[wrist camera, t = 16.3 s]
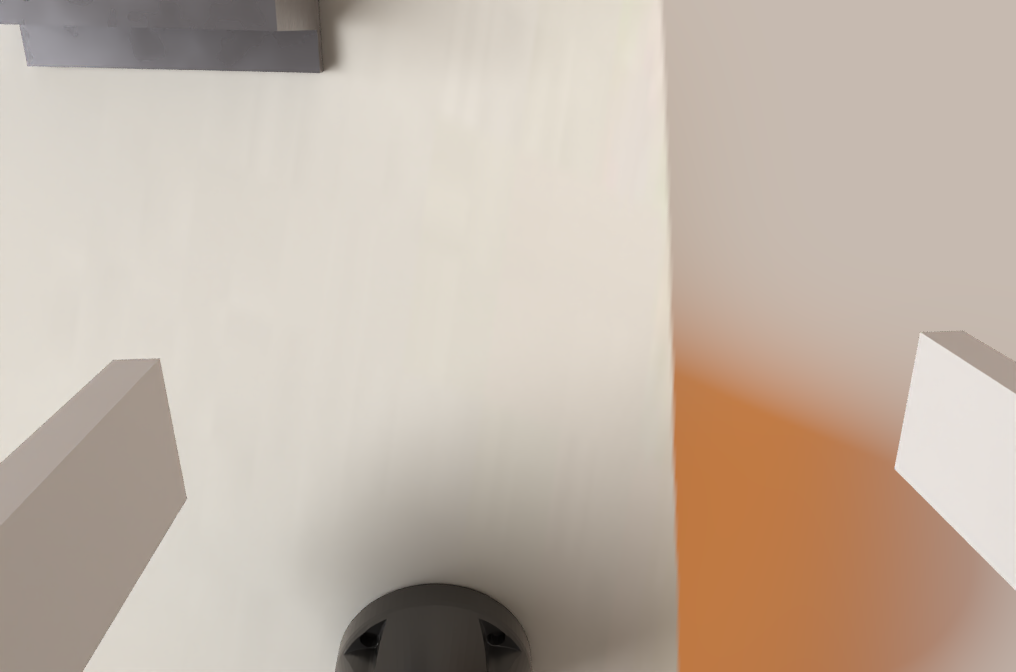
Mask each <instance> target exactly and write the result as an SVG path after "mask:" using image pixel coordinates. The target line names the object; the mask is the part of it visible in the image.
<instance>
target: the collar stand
mask: <svg viewBox="0 0 1016 672" xmlns="http://www.w3.org/2000/svg"><path fill="white" fill-rule="evenodd" d="M0 24H19V25H20V30H21V35H22V40H23V45H24V50H25V55H26V60H27V66H49V67H92V68H135V69H177V70H220V71H263V72H305V73H321V72H323V63H322V47H321V31H320V14H319V0H0Z"/></svg>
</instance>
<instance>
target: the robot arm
mask: <svg viewBox="0 0 1016 672" xmlns="http://www.w3.org/2000/svg"><path fill="white" fill-rule="evenodd" d="M895 470H896V471H897V472H898V473H899V474H900V475H901V476H902V477H903V478H904V479H905V480H906V481H907V482H908V483H909V484H910V485H912V487H913V488H914V489H915V490H916V491H917V492H918V493H919V494H920V495H921V496H922V497H923V498H924V499H925V500H926V501H927V502H928V503H929V504H930V505H931V506H932V507H933V508H934V509H935V510H936V511H937V512H938V513H939V514H940V515H941V516H942V517H943V518H944V519H945V520H946V521H947V522H948V523H949V524H950V525H951V526H952V527H953V528H954V529H955V530H956V531H957V532H958V533H959V534H960V535H961V536H962V537H963V538H964V539H965V540H966V541H967V542H968V543H969V544H970V545H971V546H972V547H973V548H974V549H975V550H976V551H977V552H978V553H979V554H980V555H981V556H982V557H983V558H984V559H985V560H986V561H987V562H988V563H989V564H990V565H991V566H992V567H993V568H994V569H995V570H996V571H997V572H998V573H999V574H1000V575H1001V576H1002V577H1003V578H1004V579H1005V580H1006V581H1007V582H1008V583H1009V584H1010V585H1011V586H1012V587H1013V588H1014V589H1015V590H1016V362H1015V361H1013V360H1012V359H1010V358H1008V357H1007V356H1005V355H1003V354H1001V353H1000V352H998V351H996V350H995V349H993V348H991V347H989V346H988V345H986V344H984V343H983V342H981V341H979V340H978V339H976V338H974V337H973V336H971V335H969V334H968V333H966V332H964V331H940V332H920V337H919V342H918V347H917V353H916V358H915V364H914V368H913V374H912V379H911V384H910V389H909V395H908V400H907V405H906V411H905V416H904V421H903V426H902V432H901V437H900V442H899V448H898V453H897V458H896V463H895ZM186 499H187V497H186V492H185V486H184V481H183V476H182V471H181V466H180V461H179V456H178V450H177V445H176V440H175V435H174V430H173V425H172V420H171V414H170V409H169V404H168V399H167V394H166V389H165V384H164V379H163V373H162V368H161V363H160V358H159V359H130V360H113V361H112V362H111V363H109V364H108V365H107V366H106V367H105V368H104V369H103V370H102V371H101V372H100V373H99V374H97V375H96V376H95V377H94V378H93V379H92V380H91V381H90V382H89V383H88V384H87V385H85V386H84V387H83V388H82V389H81V390H80V391H79V392H78V393H77V394H76V395H75V396H73V397H72V398H71V399H70V400H69V401H68V402H67V403H66V404H65V405H64V406H63V407H61V408H60V409H59V410H58V411H57V412H56V413H55V414H54V415H53V416H52V417H51V418H49V419H48V420H47V421H46V422H45V423H44V424H43V425H42V426H41V427H40V428H39V429H37V430H36V431H35V432H34V433H33V434H32V435H31V436H30V437H29V438H28V439H27V440H25V441H24V442H23V443H22V444H21V445H20V446H19V447H18V448H17V449H16V450H15V451H13V452H12V453H11V454H10V455H9V456H8V457H7V458H6V459H5V460H4V461H3V462H1V463H0V672H83V670H84V668H85V667H86V665H87V663H88V662H89V660H90V658H91V657H92V655H93V654H94V652H95V650H96V649H97V647H98V645H99V644H100V642H101V640H102V639H103V637H104V635H105V634H106V632H107V630H108V629H109V627H110V625H111V624H112V622H113V620H114V619H115V617H116V615H117V614H118V612H119V610H120V609H121V607H122V605H123V604H124V602H125V600H126V599H127V597H128V595H129V594H130V592H131V591H132V589H133V587H134V586H135V584H136V582H137V581H138V579H139V577H140V576H141V574H142V572H143V571H144V569H145V567H146V566H147V564H148V562H149V561H150V559H151V557H152V556H153V554H154V552H155V551H156V549H157V547H158V546H159V544H160V542H161V541H162V539H163V537H164V536H165V534H166V532H167V531H168V529H169V527H170V526H171V524H172V523H173V521H174V519H175V518H176V516H177V514H178V513H179V511H180V509H181V508H182V506H183V504H184V503H185V501H186ZM335 672H532V666H531V655H530V647H529V642H528V639H527V636H526V634H525V632H524V630H523V628H522V626H521V625H520V623H519V622H518V620H517V619H516V618H515V617H514V616H513V615H512V613H511V612H509V611H508V610H507V609H506V608H505V607H504V606H502V605H501V604H500V603H498V602H497V601H495V600H494V599H492V598H490V597H488V596H486V595H484V594H482V593H479V592H477V591H474V590H471V589H467V588H463V587H459V586H452V585H443V584H429V585H418V586H412V587H408V588H404V589H400V590H397V591H394V592H391V593H389V594H387V595H384V596H382V597H381V598H379V599H377V600H375V601H374V602H372V603H371V604H369V605H368V606H367V607H365V608H364V609H363V610H362V611H361V612H360V613H359V614H358V615H357V616H356V617H355V618H354V619H353V620H352V622H351V623H350V624H349V626H348V628H347V629H346V631H345V633H344V635H343V638H342V641H341V644H340V648H339V653H338V658H337V663H336V668H335Z"/></svg>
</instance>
